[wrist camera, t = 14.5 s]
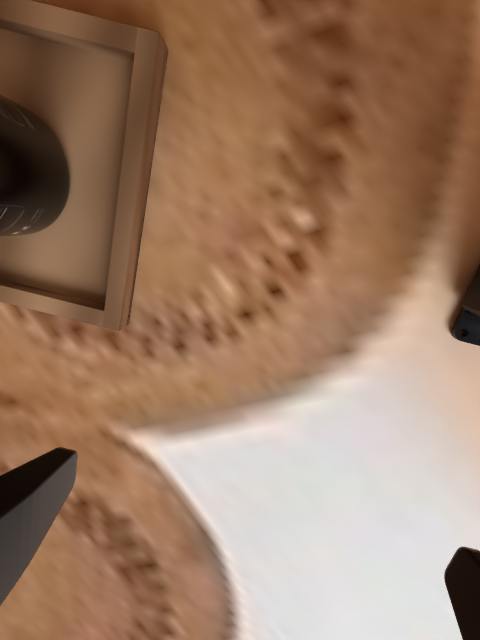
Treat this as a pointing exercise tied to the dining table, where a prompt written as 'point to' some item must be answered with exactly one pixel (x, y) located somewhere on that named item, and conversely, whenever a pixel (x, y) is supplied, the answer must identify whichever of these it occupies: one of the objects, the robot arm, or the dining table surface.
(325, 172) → the dining table surface
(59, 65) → the tray
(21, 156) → the supplement bottle
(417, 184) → the dining table surface
